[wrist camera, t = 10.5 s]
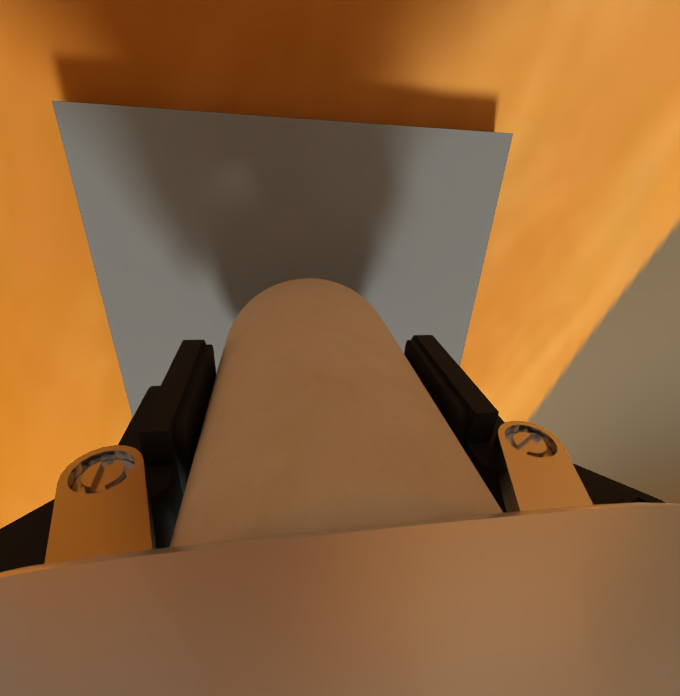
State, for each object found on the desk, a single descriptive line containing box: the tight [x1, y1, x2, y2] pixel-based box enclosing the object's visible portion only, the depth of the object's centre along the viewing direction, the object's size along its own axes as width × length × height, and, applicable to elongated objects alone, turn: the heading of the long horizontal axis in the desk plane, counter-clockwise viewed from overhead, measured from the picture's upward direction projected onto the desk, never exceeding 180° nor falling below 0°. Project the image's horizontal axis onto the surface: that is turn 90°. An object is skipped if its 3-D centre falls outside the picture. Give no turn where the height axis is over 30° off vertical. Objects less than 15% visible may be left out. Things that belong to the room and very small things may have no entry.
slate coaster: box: [52, 101, 513, 417], centre depth 15 cm, size 14×14×1 cm
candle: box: [170, 278, 503, 547], centre depth 9 cm, size 6×6×10 cm
